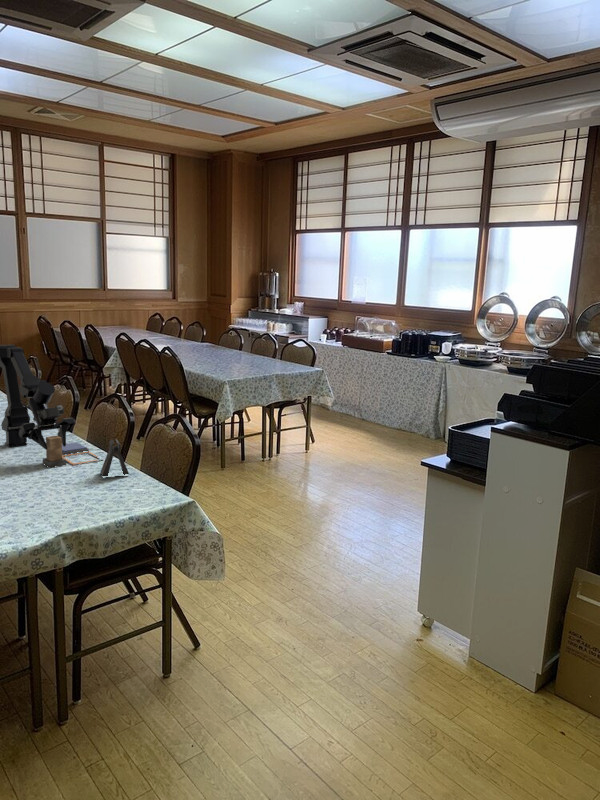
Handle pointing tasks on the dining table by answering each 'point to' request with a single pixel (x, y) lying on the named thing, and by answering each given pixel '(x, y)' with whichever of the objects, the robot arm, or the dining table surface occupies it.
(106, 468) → the dark brown a-frame stand
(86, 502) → the dining table surface
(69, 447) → the ink pad
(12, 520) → the dining table surface
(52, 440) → the stamp
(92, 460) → the marked frame
